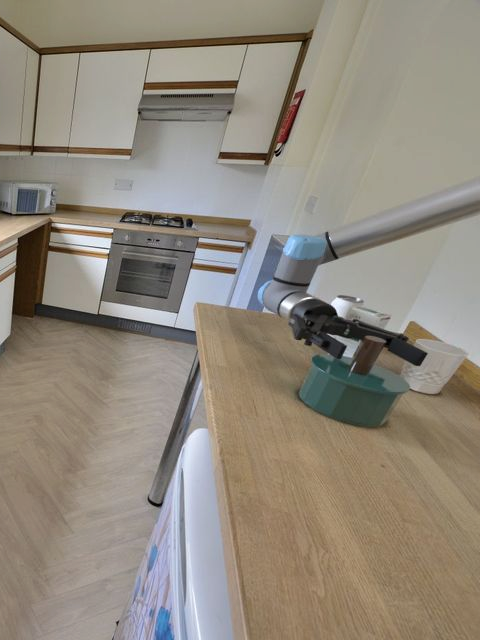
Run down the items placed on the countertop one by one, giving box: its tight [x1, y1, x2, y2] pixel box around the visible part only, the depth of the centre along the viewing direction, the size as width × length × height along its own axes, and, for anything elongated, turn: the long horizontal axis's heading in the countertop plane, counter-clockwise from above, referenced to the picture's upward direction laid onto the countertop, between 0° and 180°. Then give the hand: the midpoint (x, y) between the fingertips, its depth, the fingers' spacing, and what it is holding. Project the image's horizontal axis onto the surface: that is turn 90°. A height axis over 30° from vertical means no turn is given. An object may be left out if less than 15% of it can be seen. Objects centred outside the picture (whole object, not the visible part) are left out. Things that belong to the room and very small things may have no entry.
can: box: [328, 294, 365, 339], centre depth 112 cm, size 6×6×12 cm
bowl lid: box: [310, 336, 411, 395], centre depth 78 cm, size 15×15×8 cm
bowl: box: [298, 364, 404, 428], centre depth 81 cm, size 14×14×8 cm
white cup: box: [398, 338, 469, 395], centre depth 90 cm, size 8×8×10 cm
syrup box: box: [336, 305, 393, 358], centre depth 96 cm, size 6×6×14 cm
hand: (381, 356), depth 75 cm, fingers open, 13 cm apart
